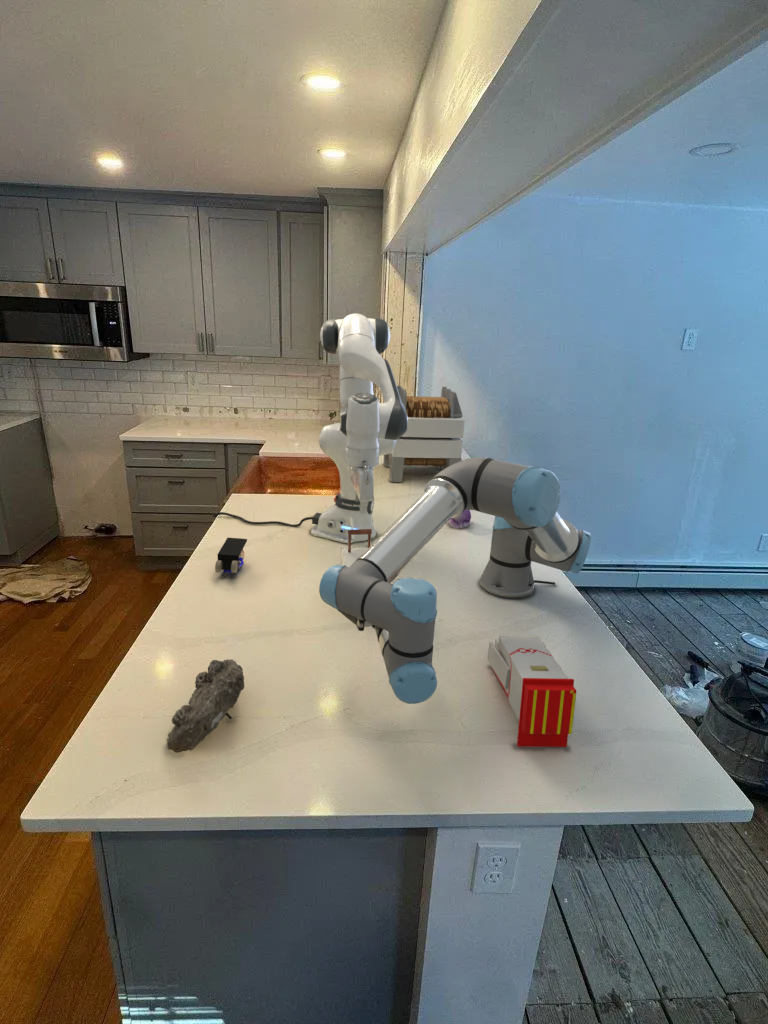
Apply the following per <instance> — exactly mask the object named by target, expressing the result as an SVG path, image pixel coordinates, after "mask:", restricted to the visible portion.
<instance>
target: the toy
mask: <svg viewBox="0 0 768 1024" xmlns="http://www.w3.org/2000/svg"><path fill="white" fill-rule="evenodd" d="M488 643H489V644H488V651H487V658H486V659H487V662H488V664H489V666H490V668H491V669H492V672H493V674H494V675H495V677H496V679H497V681H498V682H499V684H500V687H501V688H502V691H503V692H504V694H505V697H507V699H508V702H509V705H510V706H511V709H512V710H513V713H514V714H515V717H516V720H517V721H518V728H517V729H518V730H517V741H516V746H517V747H520V748H521V747H522V748H523V747H525V748H527V747H529V748H531V747H532V748H533V747H534V748H545V747H546V748H567V747H568V740H569V735H572V733H573V725H574V716H575V708H576V700H577V689H576V687H575V686H574V685H575V679H574V678H569V677H568V676H567V675H566V673H565V672H564V670H563V669H562V668H561V667H560V665H559V663H558V662H557V661H556V659H555V658H554V656H553V654H552V653H551V652H550V650H549V649H548V648H547V646H546V644H545V642H544V641H543V640H542V639H541V638H540V636H534V635H533V636H532V635H530V636H527V635H526V636H525V635H524V636H523V635H498V637H497V636H496V637H494V643H493V641H489V642H488Z"/></svg>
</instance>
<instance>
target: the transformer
mask: <svg viewBox="0 0 768 1024" xmlns="http://www.w3.org/2000/svg"><path fill="white" fill-rule="evenodd" d="M397 389H398V392H399V395H400V398H401V401H402V403H403V405H404V407H405V410H406V413H407V417H408V426H407V431H406V432H405V433H404V434H403V435H402V436H401V437H400V438H398V439H397V442H396V446H395V448H394V450H393V451H392V452H391V453H390V454H385V455H383V466H384V467H388V468H389V475H388V476H389V477H388V478H389V480H390V482H391V483H402V482H403V475H404V469H405V466H406V467H407V466H411V467H412V466H413V467H415V466H416V467H417V466H418V467H436V468H437V470H438V469H439V472H441V471H442V470H444V469H445V468H447V467H449V466H451V465H453V464H455V463H457V462H460V461H463V460H462V453H463V442H464V441H463V440H462V439H463V438H464V431H465V430H464V429H465V419H464V418H463V411H462V408H461V405H460V402H459V398H458V395H457V392H455V391H453V390H452V389H451V388H447V386H442V387H441V392H440V393H441V394H440V396H415V395H414V396H413V395H412V396H411V395H407V394H408V393H407V390H406V389H404V388H403V387H402V385H399V384H398V385H397Z"/></svg>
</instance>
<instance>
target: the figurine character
mask: <svg viewBox="0 0 768 1024" xmlns="http://www.w3.org/2000/svg"><path fill="white" fill-rule="evenodd" d="M247 542H248V538H240V537H226V539H225V541H224V543H223V544H222V546H221V547H220V549H219V551H218V552H217V560H216V562H215V564H214V572H215V573H221V577H222V578H224V577H225V576H226V574H227V573H230V574H231V573H232V574H231V578H234V577H235V575H236V573H237V572H239V571H240V567H242V566H243V565H244V564H245V562H244V558H245V551H244V547H245V546H246V544H247Z"/></svg>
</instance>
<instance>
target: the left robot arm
mask: <svg viewBox="0 0 768 1024" xmlns="http://www.w3.org/2000/svg"><path fill="white" fill-rule="evenodd" d="M389 327H390V326H389V325H388V322H387V321H386V319H383V318H378V317H374V318H371V317H366V315H364V314H361V313H350V314H348V315H346V316H345V317H344V318H338V319H335V318H332V319H331V318H330V319H328V320H325V321H324V322H323V323H322V326H321V327H320V330H319V331H320V332H319V340H320V344H321V346H322V348H323V350H324V351H325V352H326V353H327V354H331V355H336V354H338V360H339V379H338V380H339V383H338V384H339V403H340V405H341V409H340V410H339V415H340V422H335V423H330V424H326V425H323V427H322V429H321V430H320V432H319V435H318V445H319V447H320V450H321V451H322V452H323V453H324V454H325V455H326V456H328V457H329V458H330V459H331V460H332V462H333V463H334V464H335V466H336V467H337V470H338V474H339V483H340V484H339V485H340V488H339V489H340V490H339V491H338V492H337V494H336V495H335V496H334V497H333V502H334V504H333V505H331V506H329V507H328V508H326V509H325V510H323V512H316V513H315V514H314V515H313V516H307V517H305V518H302V519H300V522H299V523H297V524H290V523H287V522H283V521H279V520H277V521H276V520H275V521H274V520H271V521H251V520H247V519H245V518H243V517H241V516H239V515H236V514H232V513H229V512H224V511H221V512H216V513H215V514H214V515H213V516H212V517H213V518H216V517H217V516H220V515H221V516H222V515H224V516H227V517H231V518H234V519H235V518H236V519H239V520H240V521H242V522H243V523H245V524H249V525H282V526H285V527H293V528H298V527H301V525H303V523H304V522H305V521H308V520H309V521H310V520H311V524H312V525H313V526H312V528H311V530H310V533H311V536H315V537H319V538H323V539H326V540H330V541H336V542H339V543H343V544H348V530H351V529H371V530H372V534H371V540H372V539H373V538H375V537H376V535H377V532H376V528H375V523H374V513H373V512H374V509H375V496H374V494H375V493H374V487H375V486H374V485H375V484H374V472H373V471H374V470H375V467H376V466H379V464H380V463H379V462H380V456H384V455H385V454H390V453H391V452H392V451H393V450H394V448H395V446H396V442H397V439H398V438H400V437H401V436H402V435H403V434H404V433H405V432H406V431H407V426H408V417H407V413H406V410H405V407H404V405H403V403H402V401H401V398H400V395H399V392H398V389H397V386H398V385H397V382H396V379H395V376H394V374H393V370H392V368H391V365H390V363H389V361H388V360H387V359H386V358H384V357H382V355H381V354H383V353H384V352H385V351H386V350H387V349H388V346H389V344H390V340H391V331H390V330H391V329H390V328H389ZM374 385H376V386H377V387H378V388H379V389H380V392H381V395H382V398H383V402H379V398H378V397H377V396H376V395H375V394H374ZM365 541H368V534H366V535H351V544H352V543H357V542H365Z"/></svg>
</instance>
